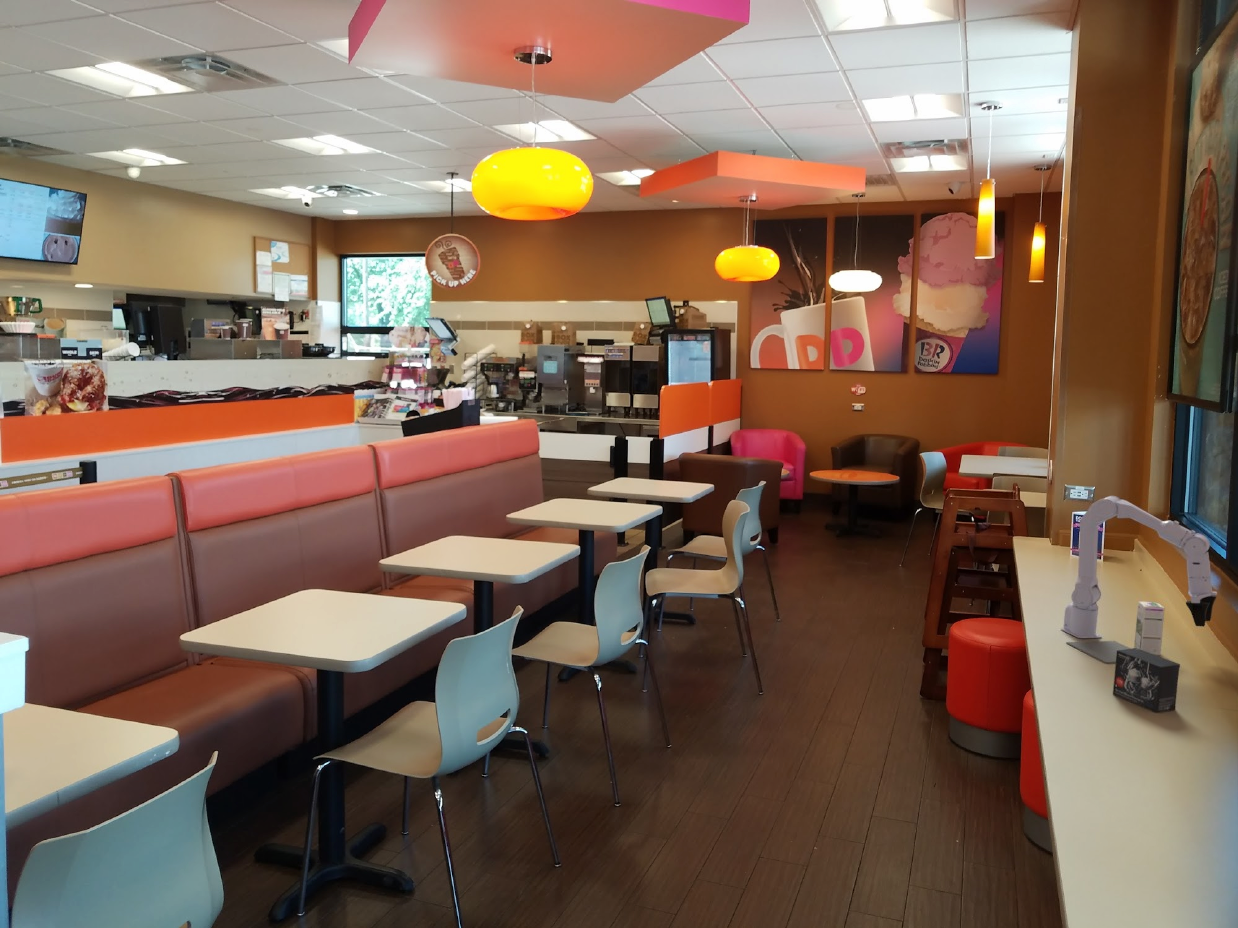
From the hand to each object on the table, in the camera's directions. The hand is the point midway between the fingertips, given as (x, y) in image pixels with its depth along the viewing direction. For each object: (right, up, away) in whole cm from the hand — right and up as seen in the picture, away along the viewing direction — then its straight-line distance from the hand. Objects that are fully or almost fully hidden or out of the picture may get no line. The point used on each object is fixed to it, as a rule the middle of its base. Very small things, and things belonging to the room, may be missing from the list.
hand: (1203, 623), depth 273 cm
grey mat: (-25, -9, +4) cm, 27 cm away
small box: (-37, -14, -35) cm, 52 cm away
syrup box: (-13, -10, +6) cm, 17 cm away
